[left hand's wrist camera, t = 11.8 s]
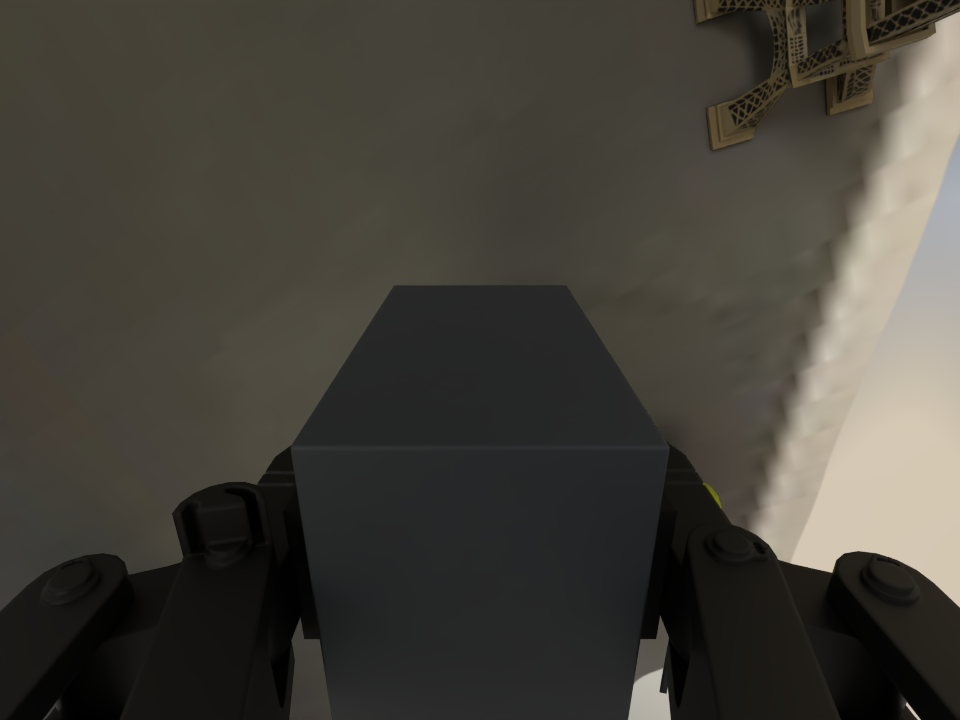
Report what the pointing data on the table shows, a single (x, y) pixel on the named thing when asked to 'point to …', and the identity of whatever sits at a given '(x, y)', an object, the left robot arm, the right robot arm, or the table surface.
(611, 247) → the table surface
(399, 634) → the bar
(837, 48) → the eiffel tower
